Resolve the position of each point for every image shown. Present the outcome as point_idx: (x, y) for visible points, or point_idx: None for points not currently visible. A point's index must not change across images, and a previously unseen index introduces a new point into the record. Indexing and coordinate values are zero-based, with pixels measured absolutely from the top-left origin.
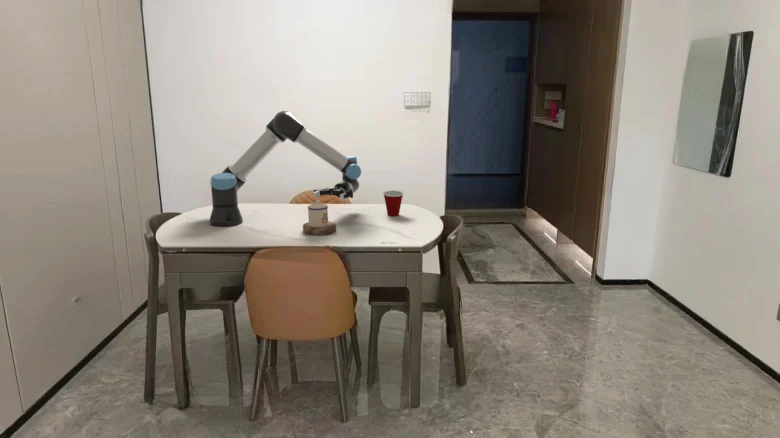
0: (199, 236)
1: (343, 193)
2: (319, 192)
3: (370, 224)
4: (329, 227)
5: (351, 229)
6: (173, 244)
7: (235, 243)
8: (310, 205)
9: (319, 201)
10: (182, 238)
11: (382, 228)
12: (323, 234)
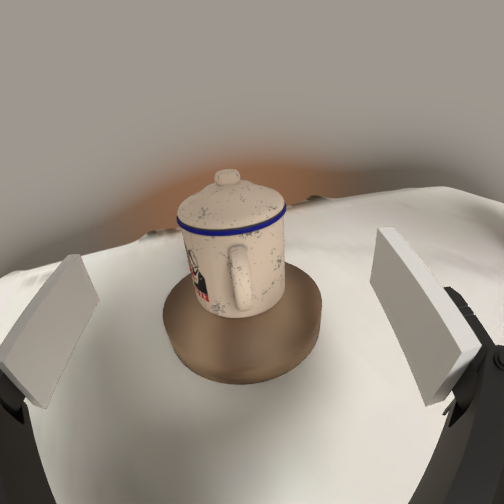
0: (471, 212)
1: (30, 308)
2: (444, 360)
3: None
4: (183, 282)
5: (108, 376)
6: (446, 189)
7: (379, 202)
8: (261, 186)
9: (215, 178)
10: (473, 203)
11: None
12: None
